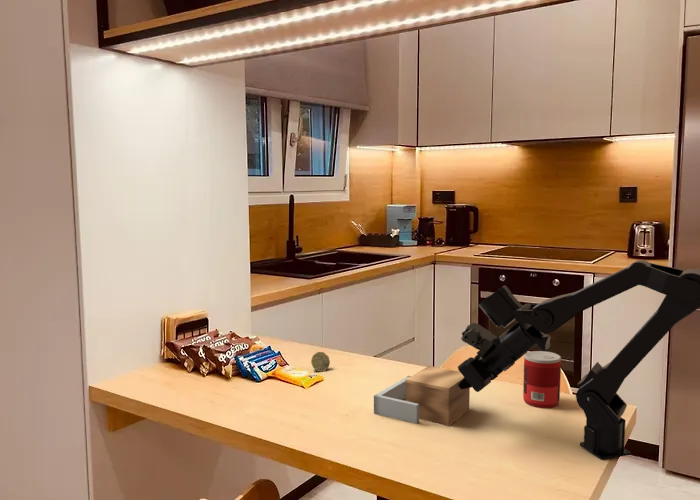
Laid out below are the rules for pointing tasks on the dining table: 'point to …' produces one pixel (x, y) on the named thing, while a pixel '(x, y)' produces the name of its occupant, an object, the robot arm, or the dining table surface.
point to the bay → (396, 403)
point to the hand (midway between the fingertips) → (460, 386)
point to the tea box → (438, 394)
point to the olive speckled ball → (320, 361)
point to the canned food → (542, 379)
